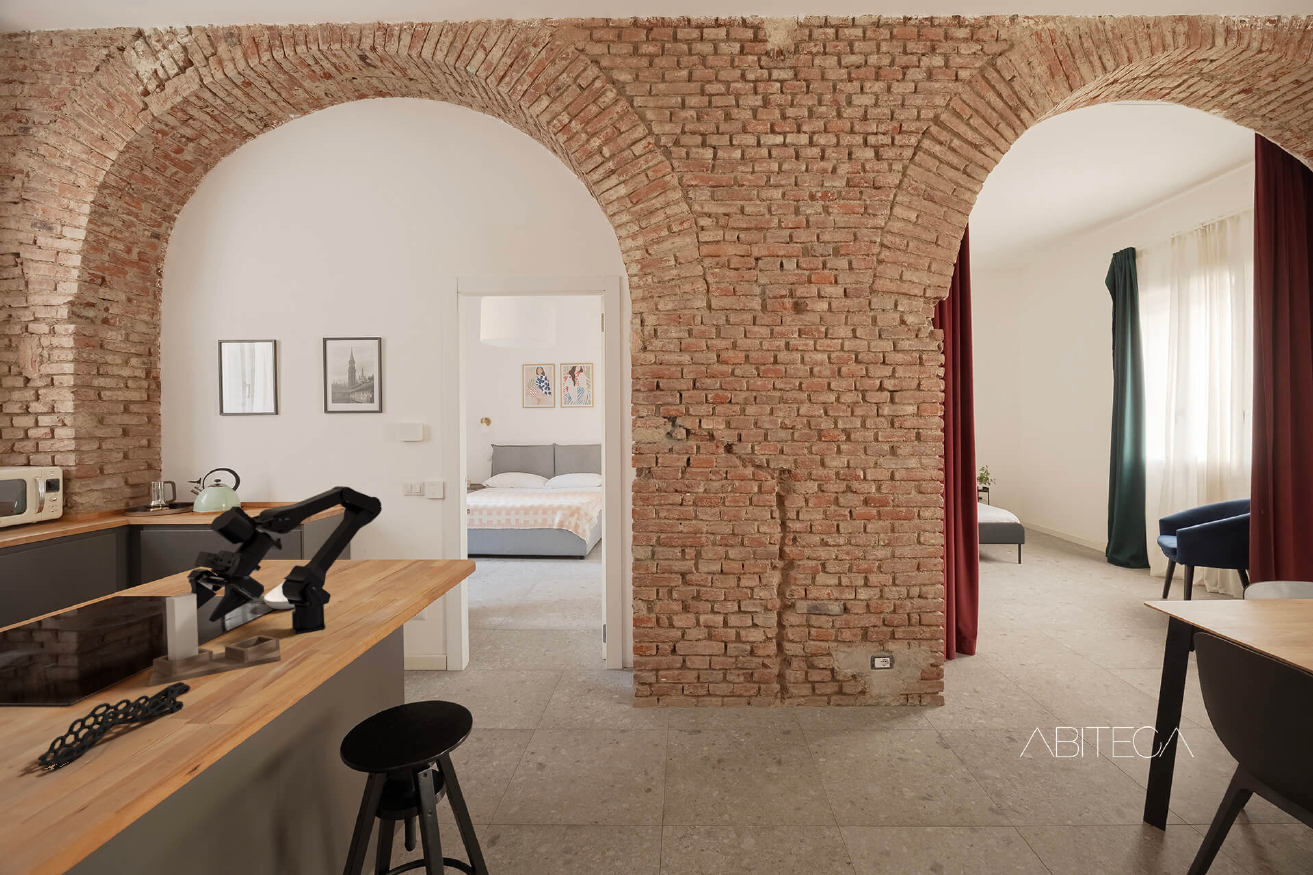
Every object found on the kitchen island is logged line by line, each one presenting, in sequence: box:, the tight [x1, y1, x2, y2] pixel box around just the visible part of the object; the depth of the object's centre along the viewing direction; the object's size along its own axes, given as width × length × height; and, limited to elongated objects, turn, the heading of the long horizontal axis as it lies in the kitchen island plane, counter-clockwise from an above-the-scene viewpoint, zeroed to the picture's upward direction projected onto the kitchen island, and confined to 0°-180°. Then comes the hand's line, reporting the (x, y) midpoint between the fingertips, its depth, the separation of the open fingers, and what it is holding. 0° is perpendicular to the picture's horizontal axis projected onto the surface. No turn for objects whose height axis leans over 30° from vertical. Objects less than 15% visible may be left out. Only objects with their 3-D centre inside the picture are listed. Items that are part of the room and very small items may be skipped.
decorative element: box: [37, 681, 191, 770], centre depth 101 cm, size 22×5×6 cm, turn 172°
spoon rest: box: [262, 579, 294, 610], centre depth 176 cm, size 24×12×7 cm, turn 17°
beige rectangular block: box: [165, 592, 199, 662], centre depth 126 cm, size 4×3×15 cm
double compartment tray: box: [149, 634, 282, 687], centre depth 129 cm, size 22×10×4 cm, turn 124°
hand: (197, 618), depth 128 cm, fingers open, 9 cm apart
